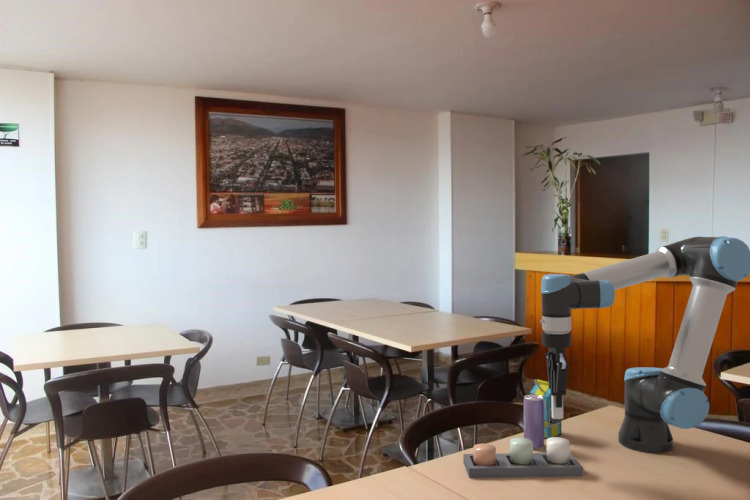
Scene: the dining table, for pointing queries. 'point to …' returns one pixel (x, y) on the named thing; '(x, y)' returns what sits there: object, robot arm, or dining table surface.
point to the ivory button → (558, 450)
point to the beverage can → (534, 420)
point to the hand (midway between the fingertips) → (557, 417)
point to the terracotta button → (484, 455)
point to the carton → (547, 409)
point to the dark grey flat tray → (523, 467)
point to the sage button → (521, 450)
